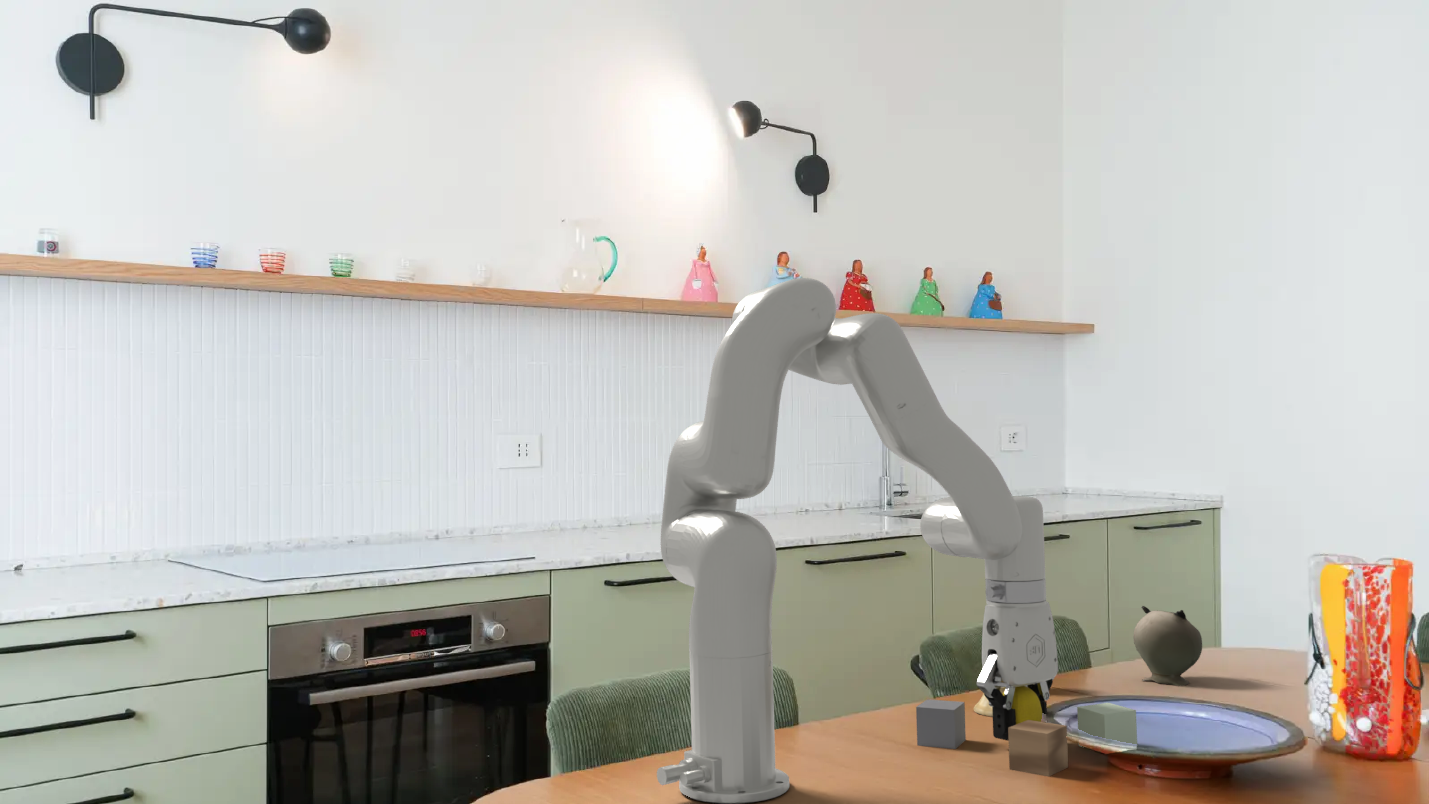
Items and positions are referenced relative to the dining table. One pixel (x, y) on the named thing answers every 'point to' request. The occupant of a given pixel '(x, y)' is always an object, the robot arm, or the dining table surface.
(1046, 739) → the walnut cube
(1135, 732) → the sage cube
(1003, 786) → the dining table surface
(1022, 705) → the lemon
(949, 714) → the charcoal cube
